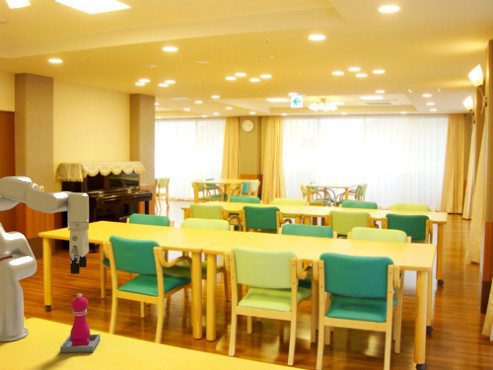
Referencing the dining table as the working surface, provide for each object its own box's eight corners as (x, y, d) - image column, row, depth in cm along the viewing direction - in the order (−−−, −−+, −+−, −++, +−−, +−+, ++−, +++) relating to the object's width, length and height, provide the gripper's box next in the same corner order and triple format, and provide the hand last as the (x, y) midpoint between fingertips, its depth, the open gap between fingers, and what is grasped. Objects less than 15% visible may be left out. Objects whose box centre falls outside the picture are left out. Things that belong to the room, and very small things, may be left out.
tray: (60, 353, 175) (60, 347, 175) (69, 341, 187) (69, 335, 187) (93, 352, 176) (92, 346, 176) (100, 340, 188) (100, 334, 188)
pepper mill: (81, 339, 186) (80, 289, 185) (94, 343, 183) (93, 292, 181) (66, 345, 180) (65, 294, 179) (79, 350, 176) (78, 297, 175)
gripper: (82, 229, 170) (82, 276, 171) (94, 222, 187) (94, 264, 188) (61, 229, 169) (61, 276, 171) (74, 222, 187) (75, 264, 188)
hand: (78, 270), depth 180 cm, fingers open, 9 cm apart
